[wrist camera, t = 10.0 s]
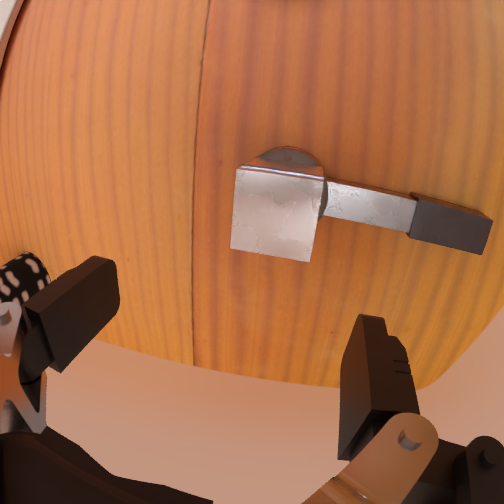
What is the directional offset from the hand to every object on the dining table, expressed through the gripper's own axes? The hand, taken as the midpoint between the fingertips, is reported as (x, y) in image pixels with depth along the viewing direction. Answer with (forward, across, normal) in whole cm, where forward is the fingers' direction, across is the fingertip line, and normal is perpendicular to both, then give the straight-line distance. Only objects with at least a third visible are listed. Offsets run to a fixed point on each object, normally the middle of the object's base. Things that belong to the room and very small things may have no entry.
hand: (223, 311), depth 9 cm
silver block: (+16, 0, 0) cm, 16 cm away
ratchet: (+19, -8, 0) cm, 21 cm away
